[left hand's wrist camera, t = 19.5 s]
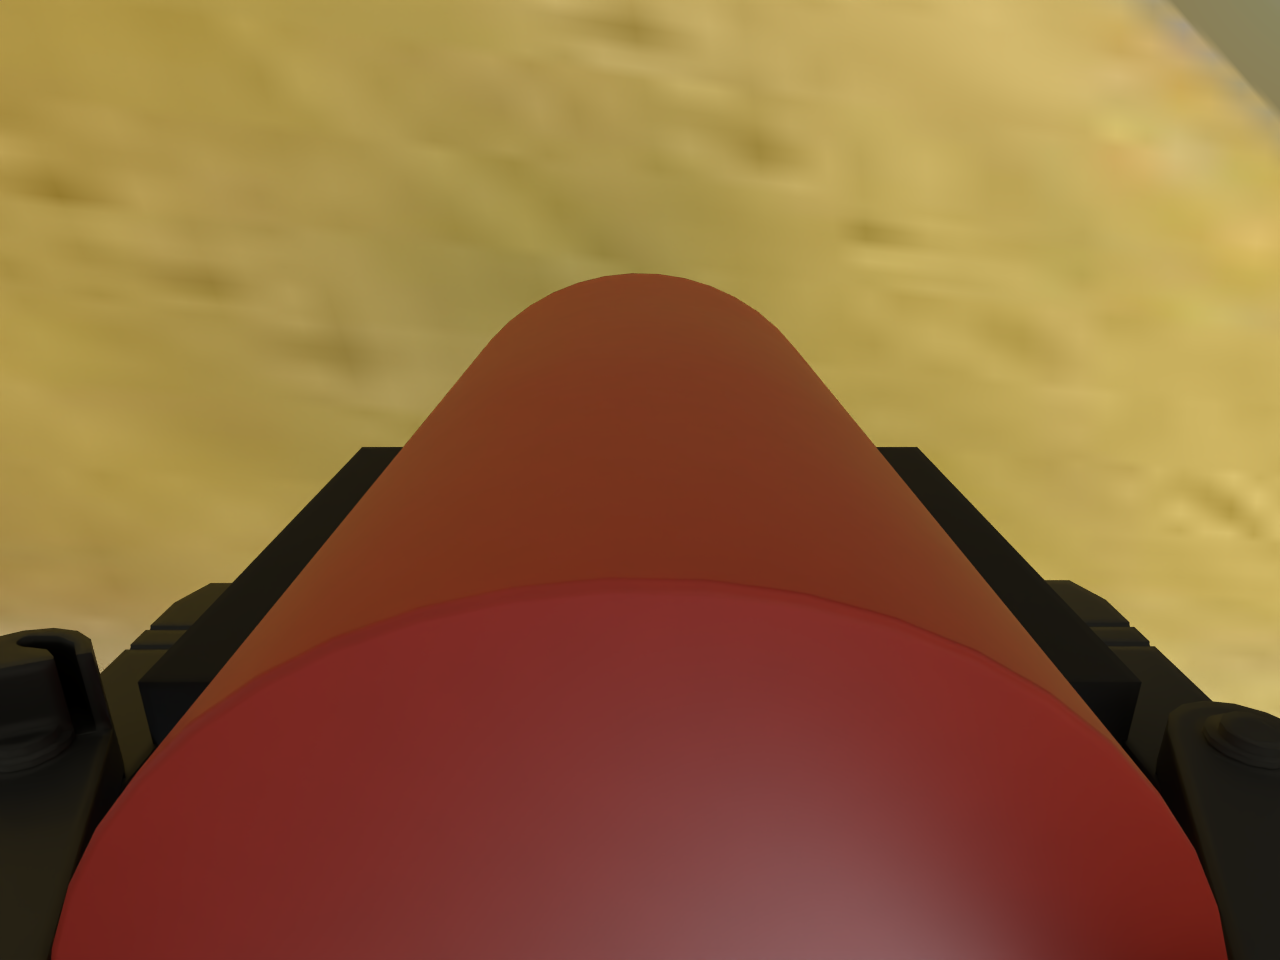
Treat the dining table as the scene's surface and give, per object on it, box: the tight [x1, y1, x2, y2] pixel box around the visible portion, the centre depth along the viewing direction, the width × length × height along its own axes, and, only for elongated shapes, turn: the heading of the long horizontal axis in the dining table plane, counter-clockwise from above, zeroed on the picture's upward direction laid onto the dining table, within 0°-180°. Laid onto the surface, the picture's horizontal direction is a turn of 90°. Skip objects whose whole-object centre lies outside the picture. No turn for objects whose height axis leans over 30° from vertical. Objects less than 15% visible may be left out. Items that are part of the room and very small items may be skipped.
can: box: [51, 273, 1228, 960], centre depth 11 cm, size 7×7×12 cm
